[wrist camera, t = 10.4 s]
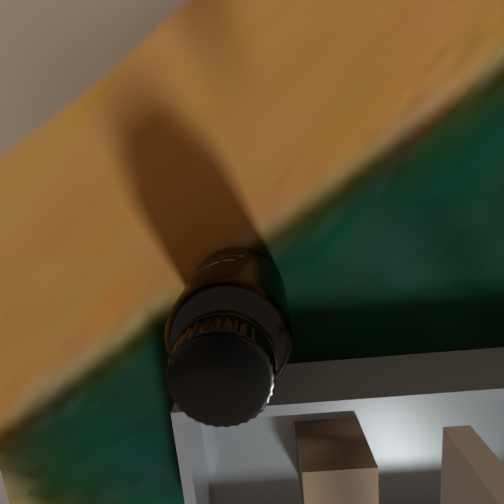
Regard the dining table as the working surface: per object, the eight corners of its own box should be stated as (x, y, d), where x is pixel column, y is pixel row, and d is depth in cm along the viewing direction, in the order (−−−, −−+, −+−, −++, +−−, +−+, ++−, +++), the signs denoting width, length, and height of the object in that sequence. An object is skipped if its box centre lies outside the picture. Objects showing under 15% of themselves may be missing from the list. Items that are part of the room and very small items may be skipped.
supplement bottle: (220, 227, 26) (190, 272, 14) (300, 274, 27) (335, 353, 15) (176, 304, 27) (114, 404, 15) (253, 347, 28) (251, 473, 16)
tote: (207, 521, 31) (197, 585, 27) (185, 371, 28) (170, 412, 23) (527, 501, 31) (579, 563, 26) (540, 344, 27) (602, 381, 23)
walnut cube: (298, 474, 30) (306, 533, 25) (294, 421, 29) (302, 472, 24) (358, 470, 29) (379, 528, 25) (357, 417, 28) (378, 467, 24)
